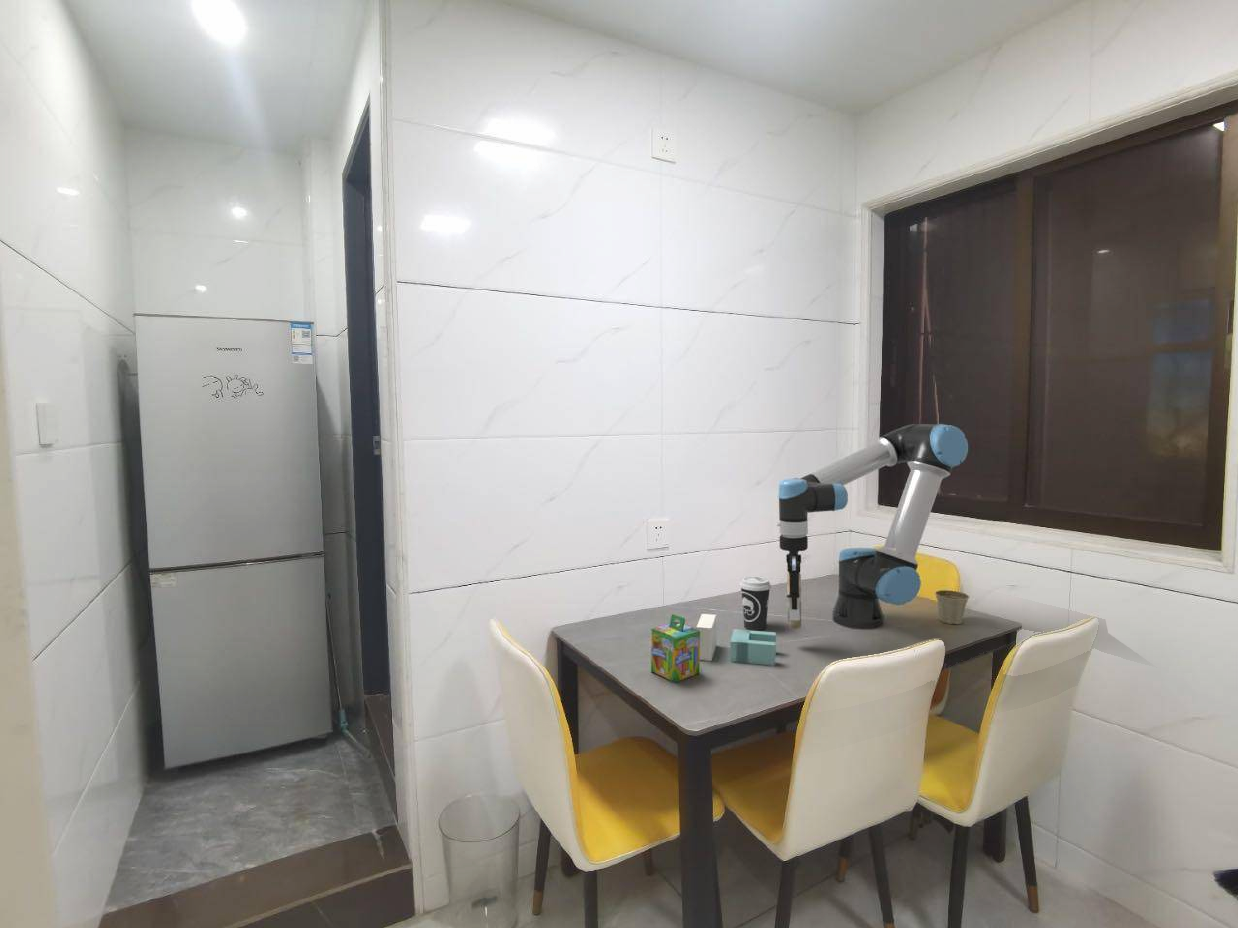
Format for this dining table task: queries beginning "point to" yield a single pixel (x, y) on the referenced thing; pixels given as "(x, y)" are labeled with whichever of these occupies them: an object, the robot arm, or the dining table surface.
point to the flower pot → (951, 606)
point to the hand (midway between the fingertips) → (794, 616)
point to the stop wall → (707, 636)
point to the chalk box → (675, 650)
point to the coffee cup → (755, 602)
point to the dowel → (797, 623)
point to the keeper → (753, 647)
